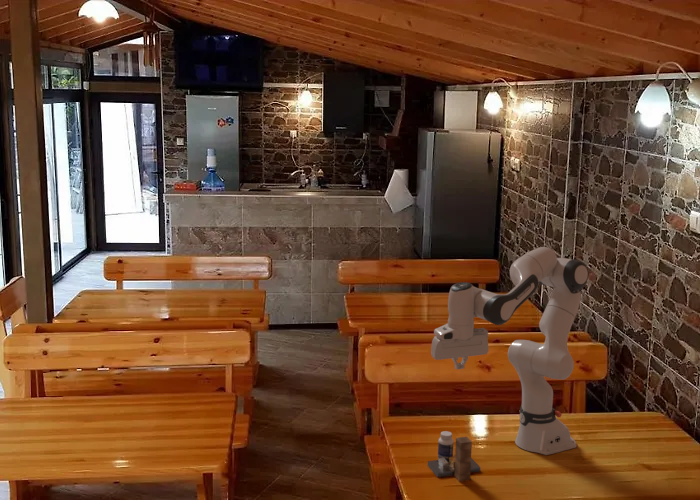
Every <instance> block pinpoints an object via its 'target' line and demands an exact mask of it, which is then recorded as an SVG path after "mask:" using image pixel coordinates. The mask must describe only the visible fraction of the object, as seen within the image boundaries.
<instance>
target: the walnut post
mask: <svg viewBox="0 0 700 500" xmlns="http://www.w3.org/2000/svg"><path fill="white" fill-rule="evenodd" d="M472 442H473V441H472V440H471V439H470V438H469V437H468V436H461V437H456V438H455V449H454V451H455V455H454V456H455V473H454V475H453V476H454V477H455V478H456V480H457V481H458V482H466V480H467V481H470V480H471V473H470V470H471V458H472V447H473V443H472Z"/></svg>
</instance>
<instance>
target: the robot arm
mask: <svg viewBox="0 0 700 500" xmlns="http://www.w3.org/2000/svg"><path fill="white" fill-rule="evenodd" d="M589 272H590V271H589V268H588V266H587V264H586V263H585V262H583V261H581V260H578V259H575V258H574V259H573V258H566V257H565V258H564V257H557V255H556V253H555V252H554V250H552V249H551V248H550V247H547V246H540V247H537V248H534V249H532V250H530V251H528V252H526V253H525V254H523V255H521V256H520V257H518V258H516V260H514V261H513V262H512V264H511V265H510V268H509V277H510V281H512V284H513V285H514V286H513V288H512V289H511V290H510V291H508V292H507V293H506V294H505V293H503V294H501V293H495V292H492V291H488V290H485V289H483V288H478V287H476V286H474V285H473V284H472V283H470V282H463V281H462V282H457V283H454V284H453V285H451V287H450V289H449V293H448V297H447V298H448V301H447V311H448V319H447V323H445V324H443V325H441V326H439V327H437V328H434V330H433V335H434V337H433V338H432V340H431V347H430V354H431V357H432V358H433V359H434V360H436V361H439V360H446V359H447V360H449V359H451V360H452V362H453V363H454V369H455V370H464V369H465V366H466V363H467V361H468V360H469V357H475V356H483V355H484V356H485V355H488V353H489V349H490V348H489V341H488V338H489V331H488V329H487V328H485V327H479V328H474V327H475V323H474V322H475V321H474V319H475V318H479V319H482V320H485V321H487V322H488V323H489V322H490V323H491V324H493V325H495V326H502V325H504V324H506V323H507V322H508V321H509V320H510V319H511V318H512V316H513V315H514V313H516V311H517V310H518V309H519V308H520V307H521V306H522V305H523V304H524V303H525V302H526V301H527V300H528V299H529V298H530V297H532V295H533V294H534V293H535V292H536V291H537V290H538V287H539V285H542V286H546V287H548V286H549V287H551V288H552V289H553V292H552V295H551V297H550V299H549V301H548V302H547V304H546V307H545V308H544V311H543V313H542V315H541V318H540V320H539V322H538V327H539V330H540V332H541V333H542V334H543V335H544V336H545V340H544V343H539V342H536V341H532V340H529V339H528V340H527V339H515V340H514V341H513V342H511V343H510V346H509V347H508V349H507V350H508V351H507V358H508V361H509V363H510V364H511V365H512V366H513V368H514V369H515V371H516V373H517V376H518V377H519V381H520V384H521V405H520V408H519V427H518V431H517V435H516V438H515V440H514V443H515V444H516V446H518V447H519V448H520V449H522V450H525V451H528V452H532V453H536V454H537V453H539V454H541V455H544V456H548V455H553V454H557V453H560V452H565V451H567V450H571V449H575V448H576V449H577V442H576V440H575V439H574V438H573V437H571V432H570V430H569V427H568V426H566V424H564V423H563V422H562V421H561V420H560V419H558V418H562V416H563V415H562V412H560V411H559V410H556V409H555V408H554V407H553V402H554V390H553V388H552V386H551V384H549V382H548V381H547V380H546V378H548V379H552V380H553V379H554V380H566V379H567V378H568V377H570V376H571V374H572V373H573V370H574V366H575V365H574V359H573V357H572V355H571V353H570V351H569V349H568V339H569V334H570V331H571V329H572V325H573V323H574V321H575V319H576V317H577V314H578V311H579V309H580V303H581V300H582V294H581V291H583V289H584V287H585V286H586V284H587V282H588V280H589V279H588V278H589V276H590V275H589ZM459 358H461V361H460V362H458V360H459Z"/></svg>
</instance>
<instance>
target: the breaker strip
mask: <svg viewBox="0 0 700 500" xmlns="http://www.w3.org/2000/svg"><path fill="white" fill-rule="evenodd" d="M427 466H428V468H429V469H430V470H431V472H433V474H434V475H435V476H436V477H437V478H443V477H451V476H452V477H453V476H454V473H455V455H453V456H452V457H449V459H445V458H439V459H435V460H428V461H427ZM481 468H482V467H481V466H480V465H479V464H478V463H477V462H476V461H475V459H473V457H471V470H470V474H472V473H471V472H473V473H479V472H481Z"/></svg>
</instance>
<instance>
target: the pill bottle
mask: <svg viewBox="0 0 700 500" xmlns="http://www.w3.org/2000/svg"><path fill="white" fill-rule="evenodd" d="M437 441H438V443H437V446H438V447H437V460H439V458H445V459H449V457H452V456H454V438H453V433H452V432H451V431H448V430H445V431H441V432H440V437H439V438H438V440H437Z"/></svg>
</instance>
